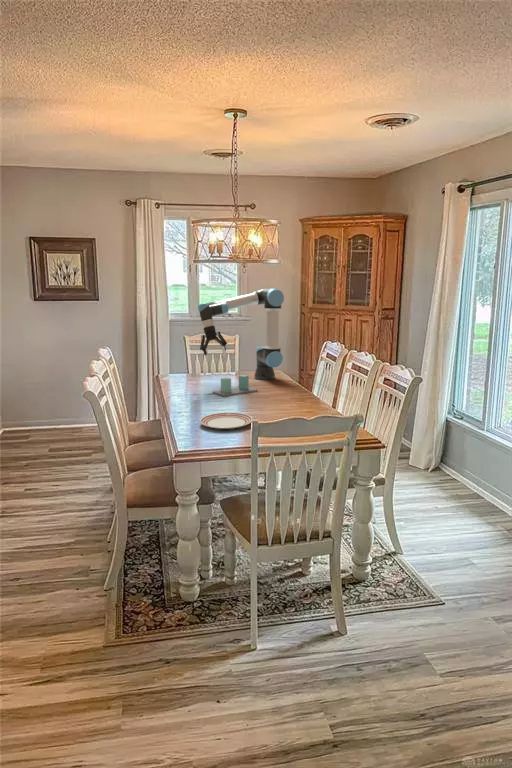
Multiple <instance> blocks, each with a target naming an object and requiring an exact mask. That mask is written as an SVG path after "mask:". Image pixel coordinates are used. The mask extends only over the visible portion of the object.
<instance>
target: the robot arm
mask: <svg viewBox="0 0 512 768" xmlns="http://www.w3.org/2000/svg"><path fill="white" fill-rule="evenodd" d="M284 301H285V295H284V292H282V290H280V289H278V288H274V287H273V288H272V287H266V288H262V289H258V290H255V291H253V292H252V293H248V294H243V295H238V296H235V297H230V298H225V299H221V300H217V301H209V302H204V303H200V304H198V306H197V309H198V313H199V317H200V320H201V325H202V327H203V332H204V334H202V335H201V336H200V337H201V341H200V346H199V347H200V348H199V350H200V351H202V352H203V356H205V359H206V361H209V360H210V356H209V355H210V354H209V352H208V349H207V348H208V345H209V343H210V341H215V342H217V343H218V344H219V345H220V346H221V347H220V348H221V352H222V356H223V357H226V356H227V352H226V351H227V349H226V348H227V347H226V345H227V344H228V342H227V341H226V339H225V338H224V336H223V335H222V334H221V331H216V327H215V322H214V319H213V317H215V316H220V315H225V314H228V313H229V311H230V310H234V309H239V308H243V307H248V306H252V305H256V306H259V305H263V306H264V308H263V309H264V310H265V311H266V321H265V322H266V326H265V327H266V328H265V329H266V331H265V335H266V336H265V337H266V340H265V342H266V343H265V346H257V347H256V352H255V353H256V368H255V373H254V375H253V377H254V379H256V380H264V381H265V380H268V381H269V380H274V379H275V378H276V373H275V370H274V368H278V367H280V365H282V363H283V361H284V360H283V359H284V356H283V354H282V353H281V346H280V345H279V335H280V334H279V332H280V331H279V329H280V328H279V327H280V310H281V309H282V304H283V303H284Z"/></svg>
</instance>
